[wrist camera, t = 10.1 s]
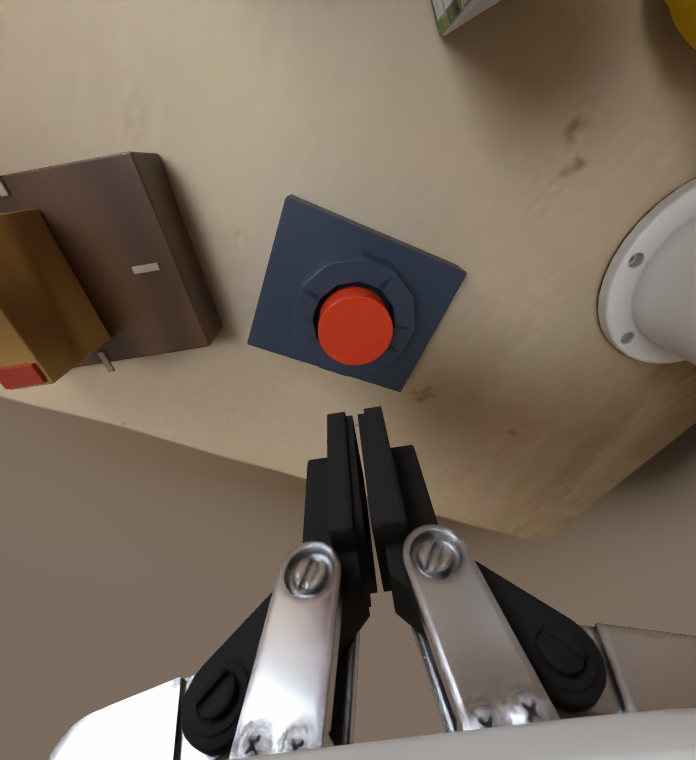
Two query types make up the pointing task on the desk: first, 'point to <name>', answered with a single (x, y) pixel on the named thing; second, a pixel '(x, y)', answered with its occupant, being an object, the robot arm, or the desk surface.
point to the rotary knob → (40, 306)
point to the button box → (344, 269)
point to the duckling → (684, 18)
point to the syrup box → (457, 12)
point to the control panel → (123, 251)
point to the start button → (354, 326)
